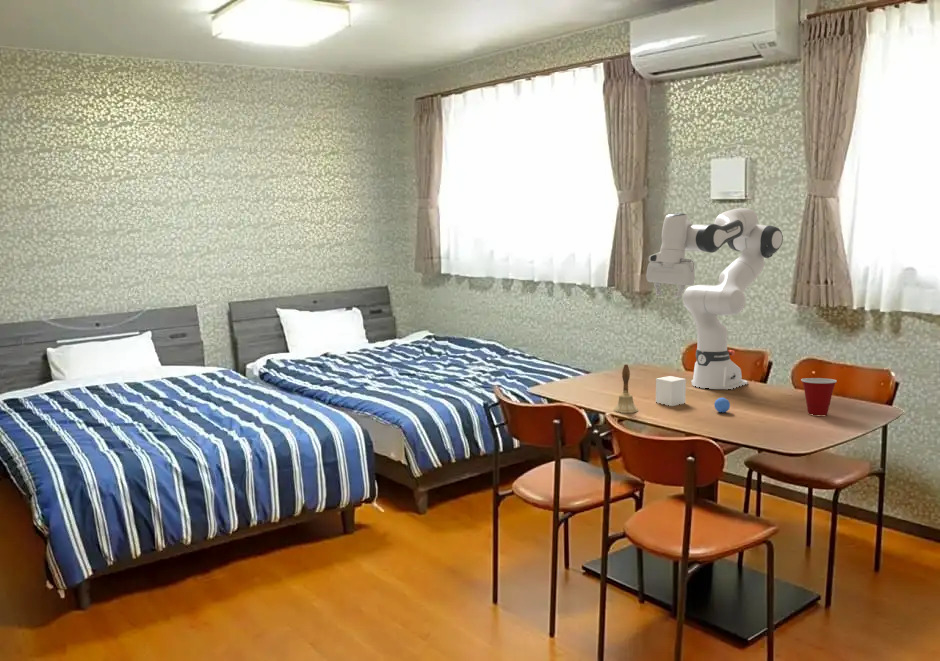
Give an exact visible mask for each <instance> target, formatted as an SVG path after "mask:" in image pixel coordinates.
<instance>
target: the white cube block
mask: <svg viewBox="0 0 940 661" xmlns="http://www.w3.org/2000/svg"><path fill="white" fill-rule="evenodd" d="M686 380H687V379H686V378H682V377H677V376H673V375H668V376H663V377H658V378H655V403H656V402H657V403H656V404H659V403H661V404H660V405H663V404H665V405H664V406H668V405H669V406H668V407H674V406H675V407H676V406H679V404H680V405H685V404H686V389H687V388H686V384H687V383H686ZM684 403H685V404H684Z"/></svg>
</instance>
